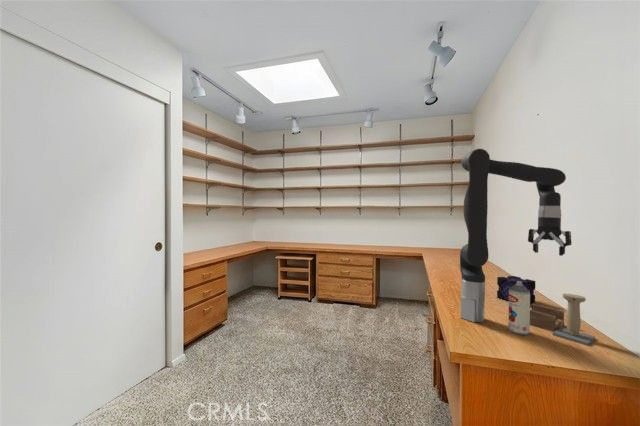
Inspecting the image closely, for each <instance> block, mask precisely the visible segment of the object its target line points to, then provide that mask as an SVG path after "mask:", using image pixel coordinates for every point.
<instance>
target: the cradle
mask: <svg viewBox="0 0 640 426" xmlns="http://www.w3.org/2000/svg"><path fill="white" fill-rule="evenodd" d="M530 326H533V327H535V328H540V329H543V330H547V331H551V332H552V333H553V332H555V331H556V330H557V329H559V328H560V327H563V326H565V311H564V310H561V309H556V308H552V307H548V306H543V305H540V304H536V303H535V304H531V309H530Z"/></svg>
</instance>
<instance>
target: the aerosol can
mask: <svg viewBox="0 0 640 426" xmlns="http://www.w3.org/2000/svg"><path fill="white" fill-rule="evenodd" d="M530 310H531V304H530V291H529V290H527V288H526V287H524V286H523V285H522V282H520V281H517V284H515V285H513V286H512V287H510V289H509V301H508V321H507V322H508V324H507V327H508V331H509V332H511V333H512V332H513V334H515V335H518V334H519V335H520V336H529V335H530V327H531V325H530ZM519 335H518V336H519Z"/></svg>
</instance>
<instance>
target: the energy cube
mask: <svg viewBox="0 0 640 426" xmlns="http://www.w3.org/2000/svg"><path fill="white" fill-rule="evenodd" d="M496 280H497V281H496V283H497V286H498V290H496V291H497V292H496V299H498V298H499V299H498V300H501V299H502V300H501V301H504V300H506V301H507V302H509V289H510V287H512V286H513V285H515V284H517V281H520V282H522V285H523V286H524V287H526V288H527V290H529V291H530V305H532V304H533V303H535V304H536V295H535V294H534V293H535V290H536V280H533V279H528V278H525V279H523V278H521V277H519V276H514V275H507V276H506V277H505V276H498V277H497V279H496Z"/></svg>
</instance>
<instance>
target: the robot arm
mask: <svg viewBox="0 0 640 426" xmlns="http://www.w3.org/2000/svg"><path fill="white" fill-rule="evenodd" d="M460 163H461V167H462V168H463V169H464V170H465V171H467V172H469V173H468V177H469V180H468V185H467V188H466V191H465V194H464V199H463V218H464V223H465V226H466V230H467V234H468V235H467V236H468V239H467V244H465V245H463V246H462V247H461V249H460V252H459V269H460V270H459V271H460V275H461V285H460V286H461V287H460V288H461V289H460V290H461V291H460V292H461V294H460V296H461V297H460V315H459V316H460V318H461V319H462V320H463V319H464V320H466V321H469V322H472V323H483V322H484V321H485V318H486V317H485V313H486V312H485V311H486V310H485V307H486V305H485V304H486V302H485V301H486V275H485V273H484V270H483V266H484V265H485V264H487V263H488V260H489V247H488V235H487V234H488V232H487V231H488V229H487V228H488V208H489V207H488V206H489V205H488V188H489V187H488V177H489V174H491V175H496V176H502V177H506V178H510V179H514V180H517V181H523V182H525V183H532V182H533V183H535V185H536V189H537V192H538V195H539V200H538V201H539V203H538V205H539V206H538V212H537V229H534V228H530V229H528V235H527V236H528V238H527V242H529V243H530V244H532V251H533V252H534V253H536V254H537V253H539V243H540V242H541V241H543V240H544V241H555V242H556V243H557V244H558V245H559V246H558V250H559V251H558V255H559V256H560V257H561V256H563V255H565V254H566V247H568V246H569V247H570V246H572V232H571V230H566V231H565V230H564V231H563V230H562V209H561V208H562V207H561V206H562V205H561V203H562V202H561V200H562V198H561V197H562V196H561V194H560V193H559V192H556V189H555V187H557V186H560V185H562V184H563V183H564V182H565V181H566V179H567V177H566V173H565V172H563V171H562V170H560V169H558V168H552V167H544V166H542V167H541V166H535V165H530V164H527V163H521V162H517V161H516V162H515V161H501V160H494V159H491V157H490V154H489V153H488V151H487V150H485V149H484V148H477V149H474V150H472V151H470V152H467V153H466V154H465V155H464V156H463V157H462V159H461V162H460ZM536 233H537V234H538V236H537V237H535V235H536ZM561 235H563V237H565V238H564V239H565V240H564V241H565V242H564V241H563V239H562V238H561V237H560V236H561ZM534 237H535V239H534Z"/></svg>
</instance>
